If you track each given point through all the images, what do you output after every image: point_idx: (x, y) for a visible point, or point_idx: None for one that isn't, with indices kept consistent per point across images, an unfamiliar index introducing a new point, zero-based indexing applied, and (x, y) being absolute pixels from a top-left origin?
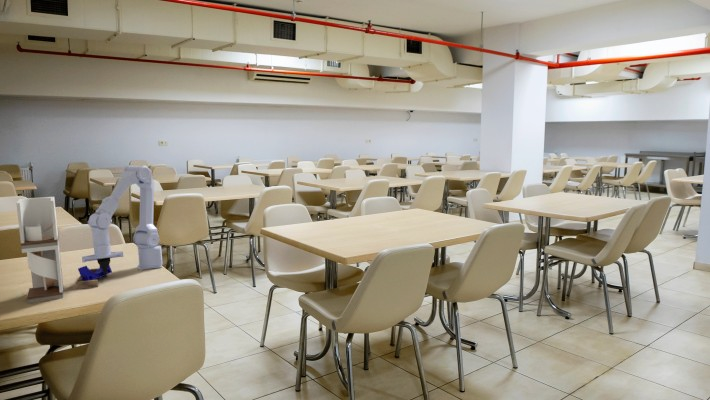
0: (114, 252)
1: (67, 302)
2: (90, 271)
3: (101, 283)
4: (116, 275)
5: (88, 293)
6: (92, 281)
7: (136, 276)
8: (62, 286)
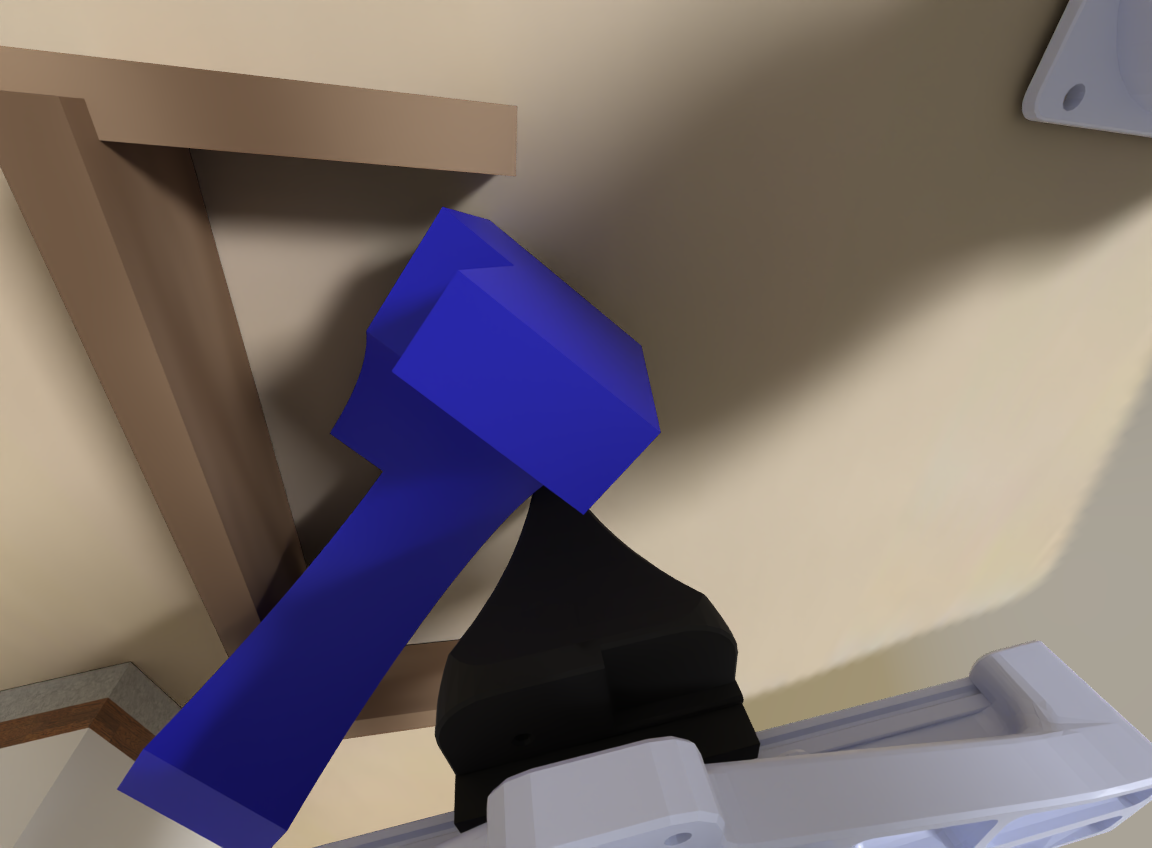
0: (974, 802)
1: None
2: (373, 687)
3: None
4: (676, 319)
5: None
6: None
7: (866, 443)
8: (201, 844)
